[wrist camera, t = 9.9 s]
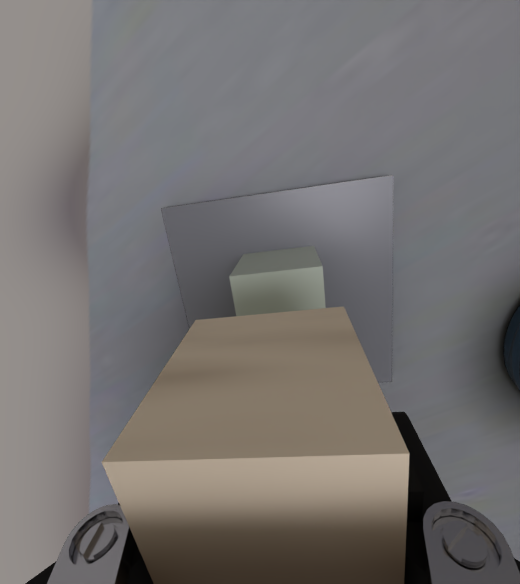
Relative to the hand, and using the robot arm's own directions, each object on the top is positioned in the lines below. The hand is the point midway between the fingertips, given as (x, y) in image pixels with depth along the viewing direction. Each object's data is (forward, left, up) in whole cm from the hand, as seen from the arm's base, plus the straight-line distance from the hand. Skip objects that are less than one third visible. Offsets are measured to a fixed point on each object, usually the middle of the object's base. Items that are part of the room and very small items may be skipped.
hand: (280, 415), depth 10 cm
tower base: (0, 0, -12) cm, 12 cm away
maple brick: (0, 0, 0) cm, 0 cm away
